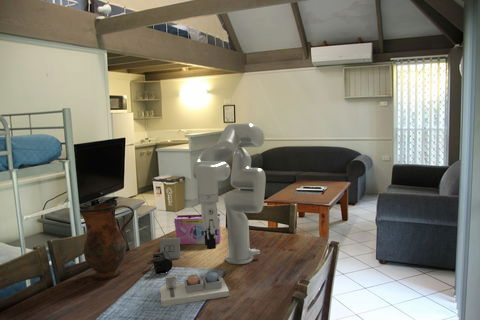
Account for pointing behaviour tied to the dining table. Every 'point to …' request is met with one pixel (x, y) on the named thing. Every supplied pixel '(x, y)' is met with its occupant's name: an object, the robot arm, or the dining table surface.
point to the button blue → (211, 277)
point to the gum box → (193, 229)
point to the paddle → (170, 281)
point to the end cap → (162, 262)
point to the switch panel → (193, 292)
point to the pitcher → (104, 240)
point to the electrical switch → (170, 247)
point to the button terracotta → (193, 279)
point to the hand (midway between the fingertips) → (210, 246)
